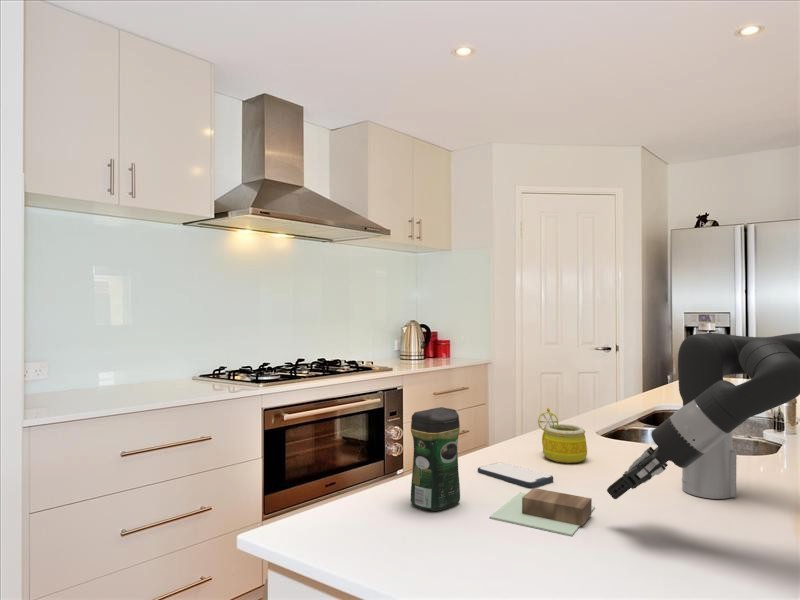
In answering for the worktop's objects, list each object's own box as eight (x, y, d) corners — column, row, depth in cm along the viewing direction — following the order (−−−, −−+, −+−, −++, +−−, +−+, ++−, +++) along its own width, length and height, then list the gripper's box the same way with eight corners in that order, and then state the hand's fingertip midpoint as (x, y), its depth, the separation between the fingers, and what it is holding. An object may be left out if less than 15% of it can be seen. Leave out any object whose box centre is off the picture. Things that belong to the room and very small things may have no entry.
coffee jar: (436, 493, 120) (437, 403, 120) (466, 503, 114) (467, 408, 114) (402, 504, 113) (403, 408, 113) (432, 515, 107) (433, 414, 107)
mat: (594, 508, 112) (595, 506, 112) (572, 536, 98) (572, 534, 98) (520, 493, 120) (520, 492, 120) (489, 518, 106) (489, 516, 106)
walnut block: (591, 498, 108) (533, 487, 114) (582, 508, 102) (522, 497, 108) (591, 514, 108) (533, 503, 114) (582, 526, 102) (522, 513, 108)
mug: (596, 461, 146) (597, 412, 146) (567, 467, 139) (568, 417, 139) (556, 449, 156) (556, 405, 156) (527, 455, 150) (528, 409, 150)
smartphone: (474, 474, 135) (530, 491, 123) (474, 467, 135) (530, 483, 123) (500, 468, 141) (556, 483, 129) (500, 461, 141) (556, 475, 129)
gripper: (703, 461, 89) (619, 524, 96) (710, 443, 100) (634, 501, 107) (666, 422, 92) (586, 486, 98) (676, 409, 103) (604, 467, 110)
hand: (611, 493), depth 103 cm, fingers closed
